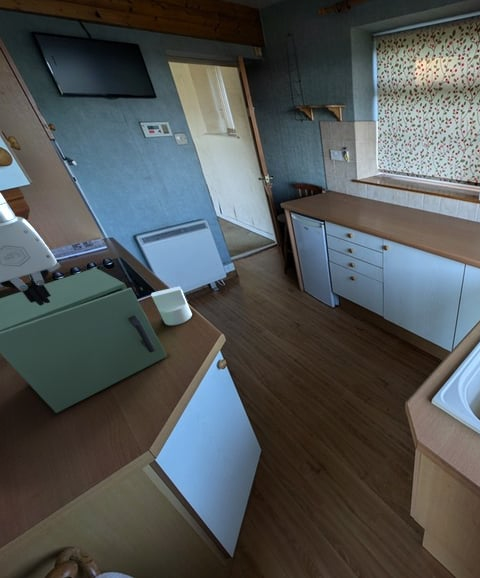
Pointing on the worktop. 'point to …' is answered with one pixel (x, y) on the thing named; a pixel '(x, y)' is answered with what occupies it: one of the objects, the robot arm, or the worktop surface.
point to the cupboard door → (82, 348)
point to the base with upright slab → (172, 305)
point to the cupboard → (58, 297)
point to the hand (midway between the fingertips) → (42, 301)
